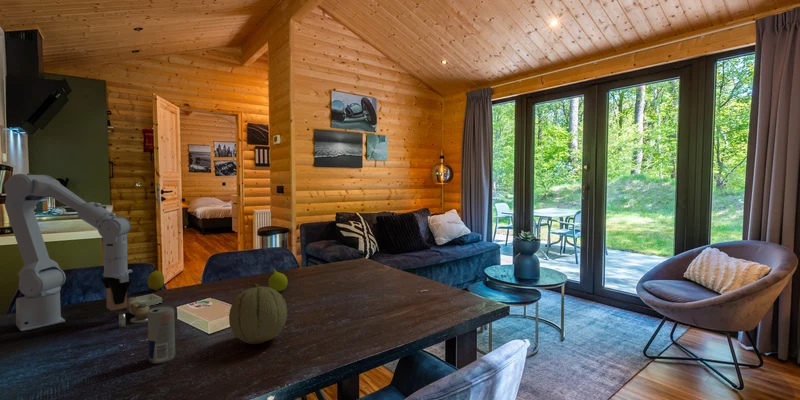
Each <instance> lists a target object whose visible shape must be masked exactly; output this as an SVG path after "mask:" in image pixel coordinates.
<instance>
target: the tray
mask: <svg viewBox="0 0 800 400" xmlns="http://www.w3.org/2000/svg"><path fill="white" fill-rule="evenodd" d="M136 301H138V302H140V303H141V304H146V305H149V306H150V307H152V306H151V305H154V306H156V305H155V304H159V303H162V304H163V297H161V296H158V295H157V294H154V293H150V294H145V295H140V296H136ZM159 305H160V304H159Z"/></svg>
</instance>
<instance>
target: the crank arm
mask: <svg viewBox="0 0 800 400" xmlns="http://www.w3.org/2000/svg"><path fill="white" fill-rule="evenodd" d="M136 297H137V296H136ZM136 297H135V296H133V297H127V307H126V312H127V313H130V314H132V315H133V316H134V317H135V318H136V319H144V318H147V317H148V313H149V310H150V307H149V305H146V304H141V303H140V302H138V301H136Z"/></svg>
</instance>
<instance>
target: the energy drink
mask: <svg viewBox="0 0 800 400" xmlns="http://www.w3.org/2000/svg"><path fill="white" fill-rule="evenodd" d="M175 327H176V326H175V309H174V307H173V306H171V305H161V306H156V307H153V308H149V313H148V321H147V340H148V341H147V342H148V343H147V344H148V346H147V349H148V362H149V363H150V364H163V363H166V362H169V361H171V360H173V359H174V357H175V356H176V343H175V342H176V337H175V336H176V334H175V333H176V332H175V329H176V328H175Z"/></svg>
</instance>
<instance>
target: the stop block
mask: <svg viewBox="0 0 800 400" xmlns="http://www.w3.org/2000/svg"><path fill="white" fill-rule="evenodd" d="M105 291H106V292H105V293H106V294H105V295H106V309H108V310H109V311H115V310H116V311H117V310H121V309H125V308H126V309H127V298H128V297H127V296H128V295H127V294H128V292H126V296H125V300H124V303H121V304H117V305H115V303H114V300H113V294H112V291H111V288H105Z"/></svg>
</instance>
